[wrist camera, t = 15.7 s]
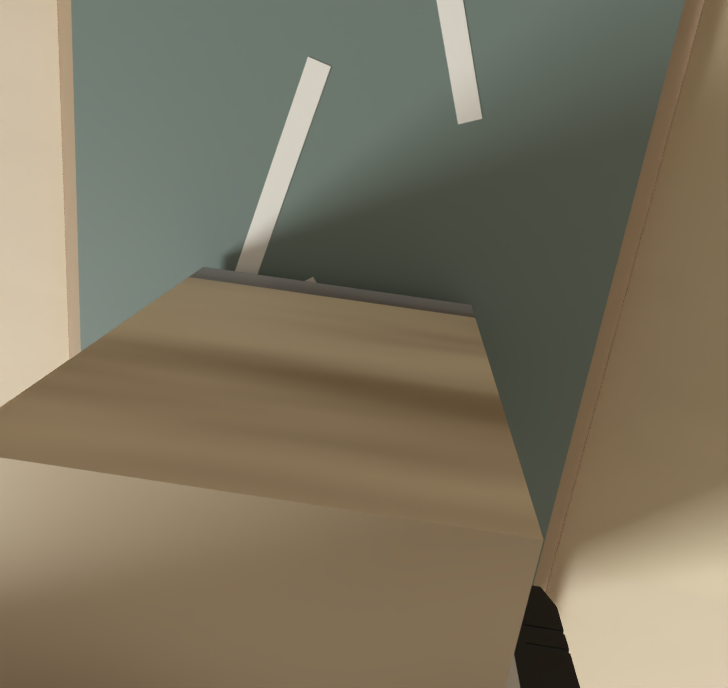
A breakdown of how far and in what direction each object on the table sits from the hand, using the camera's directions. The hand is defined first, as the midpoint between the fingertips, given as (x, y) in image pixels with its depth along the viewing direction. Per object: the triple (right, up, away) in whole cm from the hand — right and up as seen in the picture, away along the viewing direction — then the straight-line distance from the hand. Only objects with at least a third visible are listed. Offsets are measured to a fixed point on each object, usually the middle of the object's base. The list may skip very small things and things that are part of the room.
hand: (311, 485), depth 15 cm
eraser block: (0, 0, +1) cm, 1 cm away
